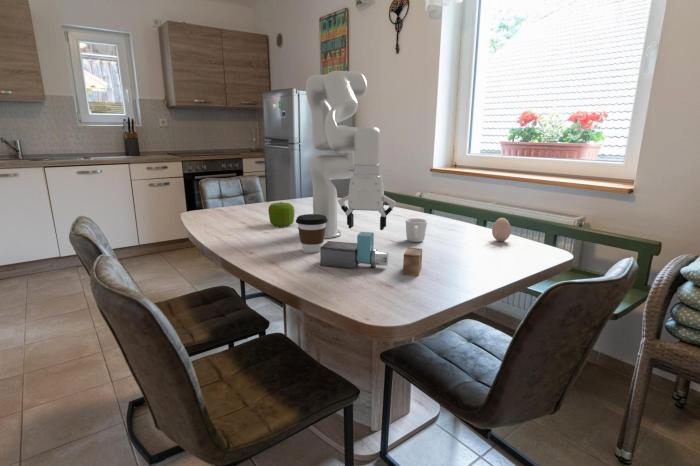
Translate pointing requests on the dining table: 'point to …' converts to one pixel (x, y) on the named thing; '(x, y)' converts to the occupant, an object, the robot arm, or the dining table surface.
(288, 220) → the apple
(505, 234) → the egg
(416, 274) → the cardboard box
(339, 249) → the sleeve
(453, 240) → the dining table surface
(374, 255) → the plug
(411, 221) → the cup
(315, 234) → the coffee cup
